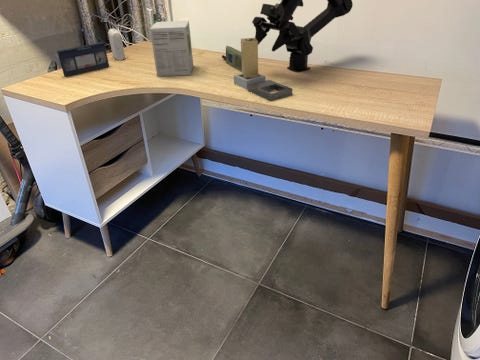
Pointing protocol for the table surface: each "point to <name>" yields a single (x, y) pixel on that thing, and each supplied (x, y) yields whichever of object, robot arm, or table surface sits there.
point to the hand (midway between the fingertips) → (263, 48)
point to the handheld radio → (233, 57)
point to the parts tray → (248, 80)
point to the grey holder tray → (269, 85)
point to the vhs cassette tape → (83, 59)
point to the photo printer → (116, 44)
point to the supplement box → (172, 48)
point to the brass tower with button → (249, 57)
